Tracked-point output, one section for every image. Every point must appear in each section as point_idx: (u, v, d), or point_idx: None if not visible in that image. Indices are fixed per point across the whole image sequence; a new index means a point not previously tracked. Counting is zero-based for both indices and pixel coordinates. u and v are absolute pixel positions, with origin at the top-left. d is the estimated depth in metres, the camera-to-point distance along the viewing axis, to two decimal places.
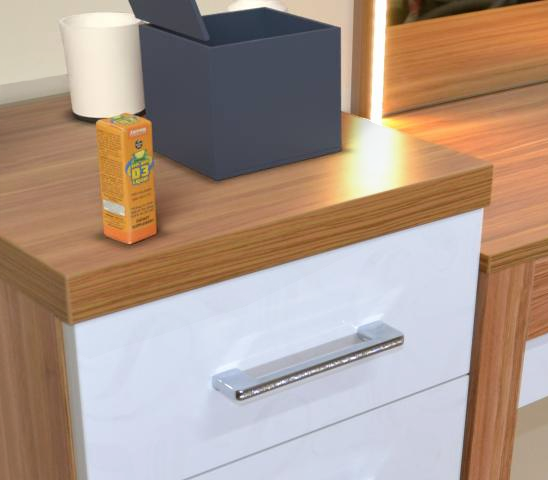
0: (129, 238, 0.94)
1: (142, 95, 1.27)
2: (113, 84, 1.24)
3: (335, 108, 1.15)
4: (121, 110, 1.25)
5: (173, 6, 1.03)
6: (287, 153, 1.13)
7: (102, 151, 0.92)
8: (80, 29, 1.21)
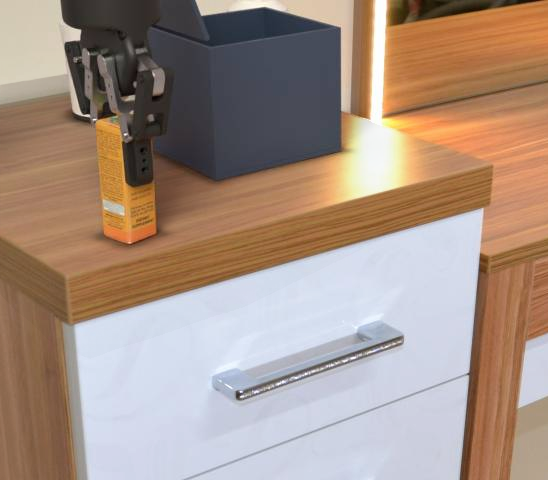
0: (129, 238, 0.94)
1: None
2: None
3: (335, 108, 1.15)
4: None
5: (173, 6, 1.03)
6: (287, 153, 1.13)
7: (102, 151, 0.92)
8: None
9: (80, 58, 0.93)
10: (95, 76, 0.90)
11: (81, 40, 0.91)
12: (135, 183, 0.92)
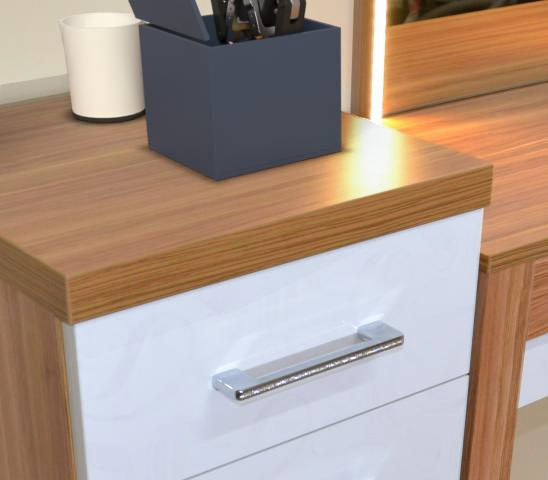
0: None
1: (142, 95, 1.27)
2: (113, 84, 1.24)
3: (335, 108, 1.15)
4: (121, 110, 1.25)
5: (173, 6, 1.03)
6: (287, 153, 1.13)
7: None
8: (80, 29, 1.21)
9: None
10: (237, 9, 1.12)
11: None
12: None
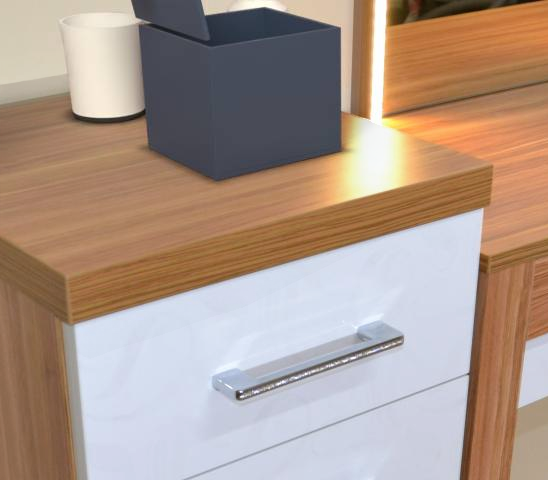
0: None
1: (142, 95, 1.27)
2: (113, 84, 1.24)
3: (335, 108, 1.15)
4: (121, 110, 1.25)
5: (177, 4, 1.04)
6: (287, 153, 1.13)
7: None
8: (80, 29, 1.21)
9: None
10: None
11: None
12: None
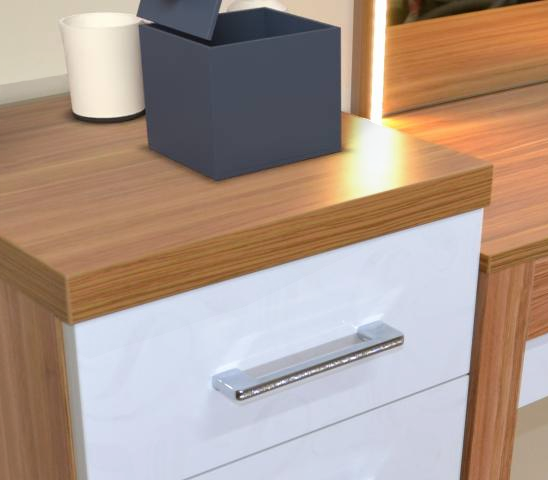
0: None
1: (142, 95, 1.27)
2: (113, 84, 1.24)
3: (335, 108, 1.15)
4: (121, 110, 1.25)
5: (193, 2, 1.05)
6: (287, 153, 1.13)
7: None
8: (80, 29, 1.21)
9: None
10: None
11: None
12: None
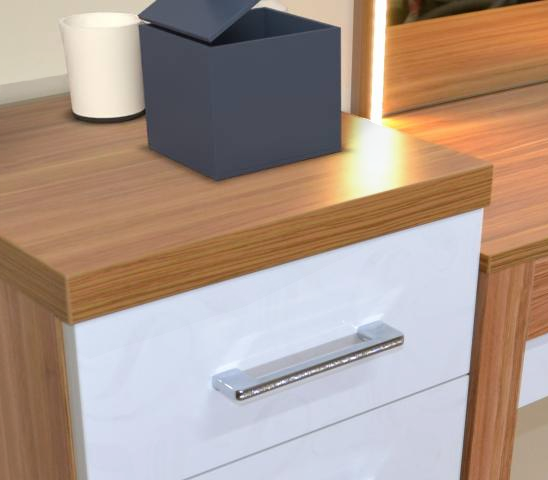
0: None
1: (142, 95, 1.27)
2: (113, 84, 1.24)
3: (335, 108, 1.15)
4: (121, 110, 1.25)
5: (208, 12, 1.06)
6: (287, 153, 1.13)
7: None
8: (80, 29, 1.21)
9: None
10: None
11: None
12: None
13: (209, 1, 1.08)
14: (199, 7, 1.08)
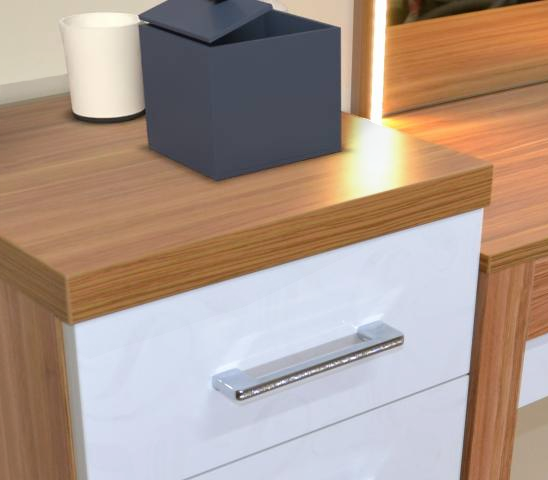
0: None
1: (142, 95, 1.27)
2: (113, 84, 1.24)
3: (335, 108, 1.15)
4: (121, 110, 1.25)
5: (211, 18, 1.06)
6: (287, 153, 1.13)
7: None
8: (80, 29, 1.21)
9: None
10: None
11: None
12: None
13: (213, 9, 1.08)
14: (202, 13, 1.08)
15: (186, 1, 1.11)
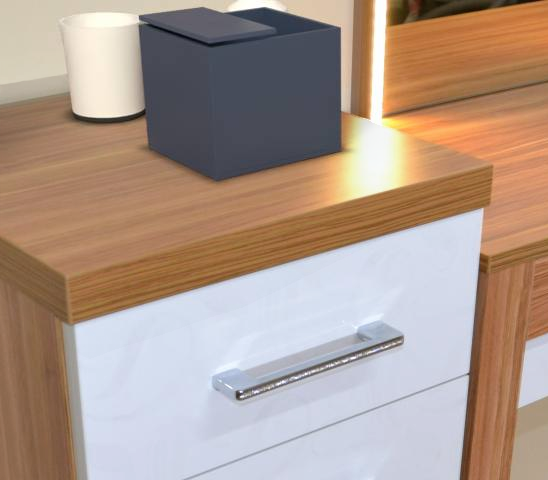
0: None
1: (142, 95, 1.27)
2: (113, 84, 1.24)
3: (335, 108, 1.15)
4: (121, 110, 1.25)
5: (214, 27, 1.07)
6: (287, 153, 1.13)
7: None
8: (80, 29, 1.21)
9: None
10: None
11: None
12: None
13: (216, 22, 1.09)
14: (205, 23, 1.08)
15: (189, 14, 1.12)
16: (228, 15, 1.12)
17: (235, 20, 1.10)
